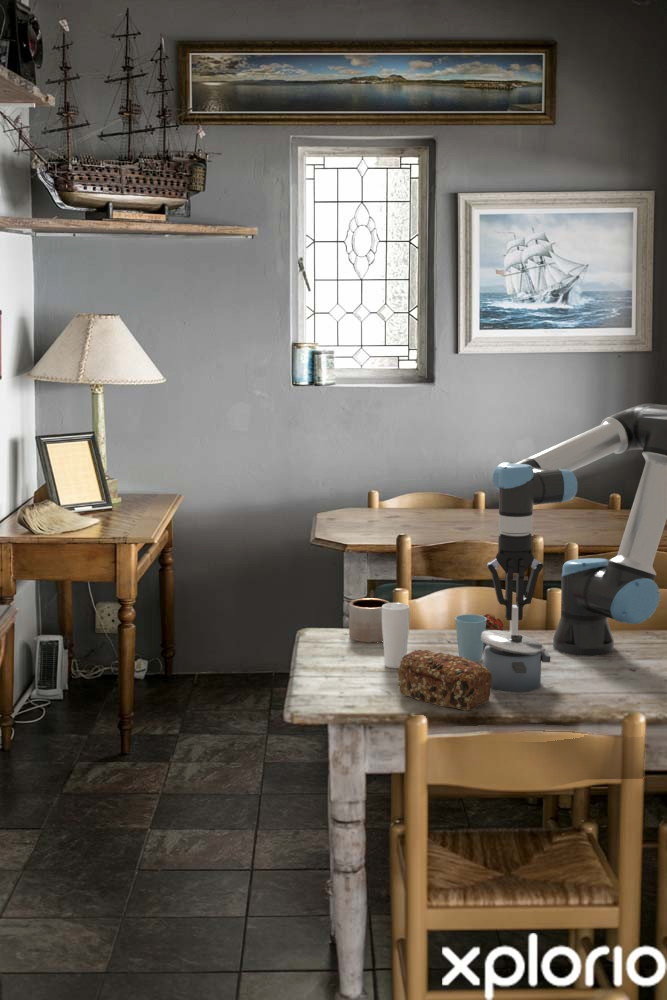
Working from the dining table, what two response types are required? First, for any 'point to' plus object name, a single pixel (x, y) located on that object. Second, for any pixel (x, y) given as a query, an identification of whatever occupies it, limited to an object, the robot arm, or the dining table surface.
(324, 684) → the dining table surface
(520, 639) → the lid
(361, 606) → the planter
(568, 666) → the dining table surface
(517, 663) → the pot
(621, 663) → the dining table surface
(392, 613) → the drinking glass
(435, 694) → the bread
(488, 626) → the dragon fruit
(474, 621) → the cup
